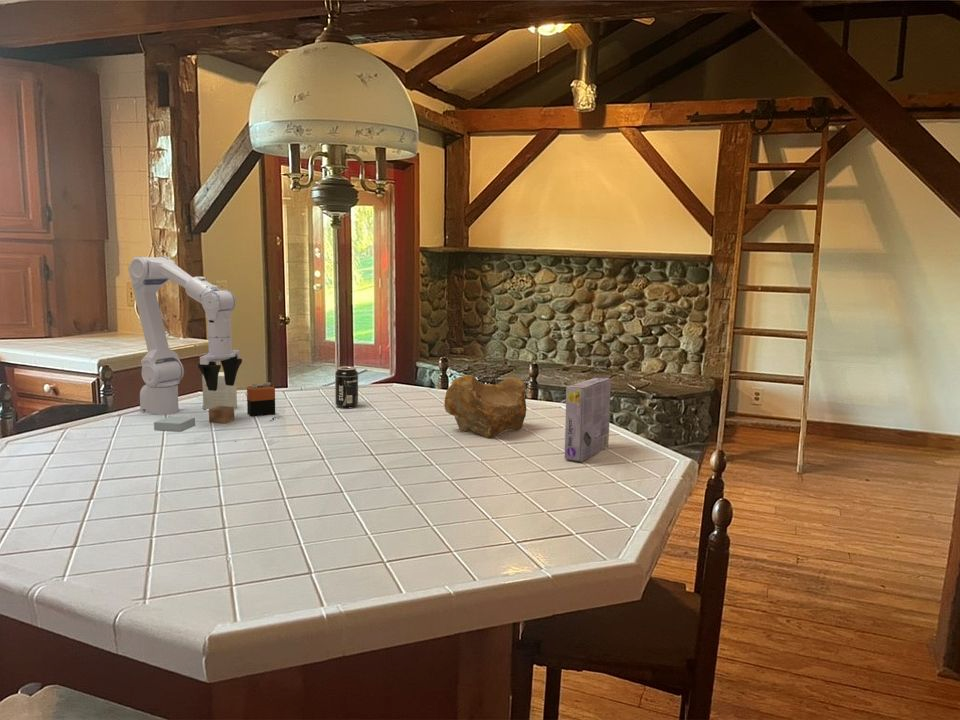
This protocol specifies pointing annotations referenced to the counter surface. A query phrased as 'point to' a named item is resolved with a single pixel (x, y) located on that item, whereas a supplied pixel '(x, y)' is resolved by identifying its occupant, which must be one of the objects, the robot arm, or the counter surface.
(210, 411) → the walnut block
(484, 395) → the rough brown rock
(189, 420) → the gray slab
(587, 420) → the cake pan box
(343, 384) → the beverage can
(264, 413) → the battery
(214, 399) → the small box
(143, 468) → the counter surface
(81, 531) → the counter surface
